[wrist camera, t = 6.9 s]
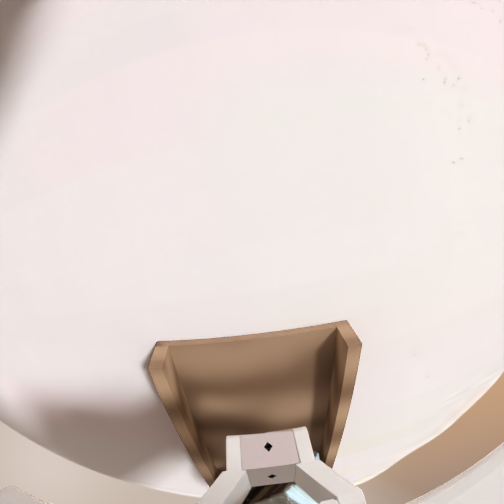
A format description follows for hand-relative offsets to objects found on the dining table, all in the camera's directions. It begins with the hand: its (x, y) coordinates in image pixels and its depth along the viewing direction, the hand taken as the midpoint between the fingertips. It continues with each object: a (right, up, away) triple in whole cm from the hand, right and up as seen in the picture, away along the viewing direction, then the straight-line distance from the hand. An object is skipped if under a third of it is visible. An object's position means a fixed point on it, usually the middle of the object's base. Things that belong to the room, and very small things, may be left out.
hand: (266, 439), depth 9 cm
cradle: (0, -9, +14) cm, 17 cm away
